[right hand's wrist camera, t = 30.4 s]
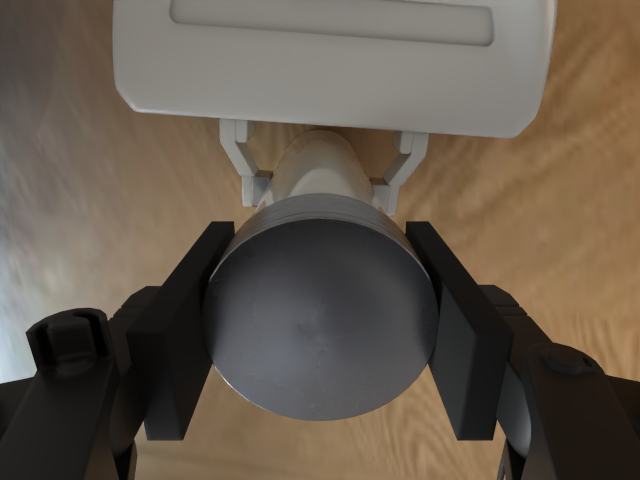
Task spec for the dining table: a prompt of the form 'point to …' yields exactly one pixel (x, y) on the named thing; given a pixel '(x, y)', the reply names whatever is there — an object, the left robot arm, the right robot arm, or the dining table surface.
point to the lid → (320, 309)
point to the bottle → (319, 170)
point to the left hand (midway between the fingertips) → (319, 208)
